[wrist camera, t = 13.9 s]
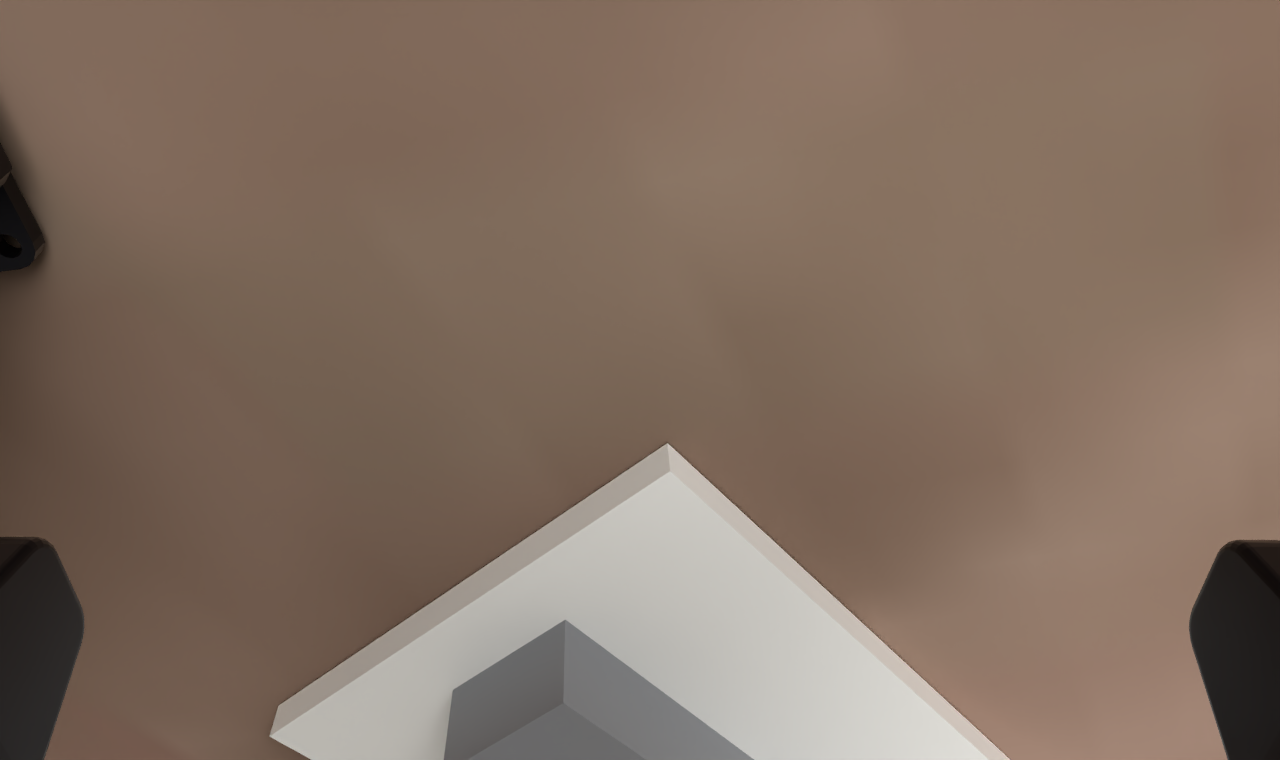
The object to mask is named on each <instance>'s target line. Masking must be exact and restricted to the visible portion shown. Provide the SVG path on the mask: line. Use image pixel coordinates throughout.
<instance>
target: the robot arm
mask: <svg viewBox="0 0 1280 760" xmlns="http://www.w3.org/2000/svg"><path fill="white" fill-rule="evenodd" d="M11 169H12V166H11V163H10V161H9V159H8V157H7V155H6V153H5V151H4V149H3V147H2V145H1V143H0V272H1V271H9V270H16V269H21V268H24V267H27V266H29V265H30V264H31V263H32V262H33V261H34V259H35V258H36V257H37V256H38V255H39V254H40V253H41V252H42V251H43V248H44V243H45V242H44V239H43V235H42V232H41V230H40V228H39V226H38V225H37V223H36V221H35V219H34V217H33V215H32V213H31V211H30V209H29V207H28V205H27V203H26V201H25V199H24V197H23V195H22V193H21V192H20V190H19V188H18V186H17V184H16V182H15V180H14V178H13V176H12V174H11V172H10V171H11ZM3 234H5V235H10V236H12V237H13V238H15V239H16V240H17V241H18V242H19V243H20V244H21V248H16V247H14V246H12V245H10V244H8V242H7V241H6V240H5V239H4V237H3ZM1189 632H1190V639H1191V644H1192V647H1193V651H1194V654H1195V657H1196V660H1197V663H1198V666H1199V670H1200V673H1201V676H1202V679H1203V682H1204V685H1205V689H1206V692H1207V695H1208V698H1209V701H1210V704H1211V708H1212V711H1213V714H1214V717H1215V720H1216V723H1217V727H1218V730H1219V733H1220V736H1221V739H1222V742H1223V746H1224V749H1225V752H1226V755H1227V758H1228V760H1280V541H1278V540H1234V541H1231V542H1228V543H1227V544H1226V545H1224V546H1223V547H1222V548H1221V549H1220V551H1219V552H1218V554H1217V556H1216V558H1215V561H1214V563H1213V565H1212V567H1211V569H1210V571H1209V574H1208V576H1207V578H1206V580H1205V582H1204V584H1203V587H1202V589H1201V591H1200V593H1199V595H1198V598H1197V600H1196V602H1195V604H1194V606H1193V608H1192V612H1191V616H1190V622H1189ZM83 633H84V615H83V610H82V607H81V604H80V602H79V600H78V598H77V595H76V593H75V591H74V589H73V587H72V584H71V582H70V580H69V578H68V576H67V574H66V571H65V569H64V567H63V565H62V563H61V560H60V558H59V556H58V554H57V552H56V550H55V548H54V547H53V545H52V544H50V543H49V542H48V541H47V540H45V539H42V538H39V537H0V760H44V758H45V755H46V752H47V748H48V745H49V742H50V739H51V736H52V733H53V730H54V727H55V724H56V721H57V717H58V714H59V711H60V708H61V705H62V702H63V699H64V696H65V693H66V690H67V686H68V683H69V680H70V677H71V674H72V671H73V668H74V665H75V662H76V659H77V655H78V652H79V649H80V646H81V643H82V639H83Z"/></svg>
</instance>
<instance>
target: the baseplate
mask: <svg viewBox="0 0 1280 760" xmlns="http://www.w3.org/2000/svg"><path fill="white" fill-rule="evenodd" d="M270 737H271V738H273V739H275V740H277V741H279V742H280V743H282V744H284V745H286V746H288V747H289V748H291V749H293V750H295V751H297V752H298V753H300V754H302V755H304V756H306V757H307V758H309V759H311V760H1010V759H1009V758H1008V757H1007V756H1006V755H1005V754H1004V753H1002V752H1001V751H1000V750H999V749H998V748H997V747H996V746H995V745H994V744H993V743H992V742H991V741H989V740H988V739H987V738H986V737H985V736H984V735H983V734H982V733H981V732H980V731H979V730H978V729H976V728H975V727H974V726H973V725H972V724H971V723H970V722H969V721H968V720H967V719H966V718H965V717H963V716H962V715H961V714H960V713H959V712H958V711H957V710H956V709H955V708H954V707H953V706H952V705H950V704H949V703H948V702H947V701H946V700H945V699H944V698H943V697H942V696H941V695H940V694H939V693H938V692H936V691H935V690H934V689H933V688H932V687H931V686H930V685H929V684H928V683H927V682H926V681H925V680H923V679H922V678H921V677H920V676H919V675H918V674H917V673H916V672H915V671H914V670H913V669H912V668H910V667H909V666H908V665H907V664H906V663H905V662H904V661H903V660H902V659H901V658H900V657H899V656H897V655H896V654H895V653H894V652H893V651H892V650H891V649H890V648H889V647H888V646H887V645H886V644H884V643H883V642H882V641H881V640H880V639H879V638H878V637H877V636H876V635H875V634H874V633H873V632H871V631H870V630H869V629H868V628H867V627H866V626H865V625H864V624H863V623H862V622H861V621H860V620H858V619H857V618H856V617H855V616H854V615H853V614H852V613H851V612H850V611H849V610H848V609H847V608H845V607H844V606H843V605H842V604H841V603H840V602H839V601H838V600H837V599H836V598H835V597H834V596H832V595H831V594H830V593H829V592H828V591H827V590H826V589H825V588H824V587H823V586H822V585H821V584H819V583H818V582H817V581H816V580H815V579H814V578H813V577H812V576H811V575H810V574H809V573H808V572H806V571H805V570H804V569H803V568H802V567H801V566H800V565H799V564H798V563H797V562H796V561H795V560H794V559H792V558H791V557H790V556H789V555H788V554H787V553H786V552H785V551H784V550H783V549H782V548H781V547H779V546H778V545H777V544H776V543H775V542H774V541H773V540H772V539H771V538H770V537H769V536H768V535H766V534H765V533H764V532H763V531H762V530H761V529H760V528H759V527H758V526H757V525H756V524H755V523H753V522H752V521H751V520H750V519H749V518H748V517H747V516H746V515H745V514H744V513H743V512H742V511H740V510H739V509H738V508H737V507H736V506H735V505H734V504H733V503H732V502H731V501H730V500H729V499H727V498H726V497H725V496H724V495H723V494H722V493H721V492H720V491H719V490H718V489H717V488H716V487H714V486H713V485H712V484H711V483H710V482H709V481H708V480H707V479H706V478H705V477H704V476H703V475H701V474H700V473H699V472H698V471H697V470H696V469H695V468H694V467H693V466H692V465H691V464H690V463H688V462H687V461H686V460H685V459H684V458H683V457H682V456H681V455H680V454H679V453H678V452H677V451H675V450H674V449H673V448H672V447H671V446H670V445H669V444H668V443H667V444H665V445H664V446H662V447H661V448H659V449H658V450H656V451H655V452H653V453H652V454H650V455H649V456H647V457H646V458H644V459H643V460H641V461H640V462H639V463H637V464H636V465H634V466H633V467H631V468H630V469H628V470H627V471H625V472H624V473H622V474H621V475H619V476H618V477H616V478H615V479H613V480H612V481H610V482H609V483H607V484H606V485H604V486H603V487H602V488H600V489H599V490H597V491H596V492H594V493H593V494H591V495H590V496H588V497H587V498H585V499H584V500H582V501H581V502H579V503H578V504H576V505H575V506H573V507H572V508H570V509H569V510H567V511H566V512H564V513H563V514H562V515H560V516H559V517H557V518H556V519H554V520H553V521H551V522H550V523H548V524H547V525H545V526H544V527H542V528H541V529H539V530H538V531H536V532H535V533H533V534H532V535H530V536H529V537H527V538H526V539H524V540H523V541H522V542H520V543H519V544H517V545H516V546H514V547H513V548H511V549H510V550H508V551H507V552H505V553H504V554H502V555H501V556H499V557H498V558H496V559H495V560H493V561H492V562H490V563H489V564H487V565H486V566H484V567H483V568H482V569H480V570H479V571H477V572H476V573H474V574H473V575H471V576H470V577H468V578H467V579H465V580H464V581H462V582H461V583H459V584H458V585H456V586H455V587H453V588H452V589H450V590H449V591H447V592H446V593H444V594H443V595H442V596H440V597H439V598H437V599H436V600H434V601H433V602H431V603H430V604H428V605H427V606H425V607H424V608H422V609H421V610H419V611H418V612H416V613H415V614H413V615H412V616H410V617H409V618H407V619H406V620H405V621H403V622H402V623H400V624H399V625H397V626H396V627H394V628H393V629H391V630H390V631H388V632H387V633H385V634H384V635H382V636H381V637H379V638H378V639H376V640H375V641H373V642H372V643H370V644H369V645H367V646H366V647H365V648H363V649H362V650H360V651H359V652H357V653H356V654H354V655H353V656H351V657H350V658H348V659H347V660H345V661H344V662H342V663H341V664H339V665H338V666H336V667H335V668H333V669H332V670H330V671H329V672H327V673H326V674H325V675H323V676H322V677H320V678H319V679H317V680H316V681H314V682H313V683H311V684H310V685H308V686H307V687H305V688H304V689H302V690H301V691H299V692H298V693H296V694H295V695H293V696H292V697H290V698H289V699H287V700H286V701H285V702H283V703H282V704H280V705H279V706H278V709H277V712H276V716H275V719H274V723H273V726H272V729H271V733H270Z"/></svg>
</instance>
